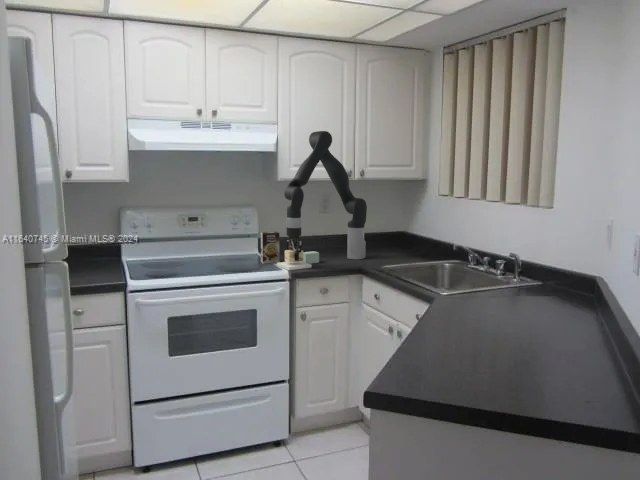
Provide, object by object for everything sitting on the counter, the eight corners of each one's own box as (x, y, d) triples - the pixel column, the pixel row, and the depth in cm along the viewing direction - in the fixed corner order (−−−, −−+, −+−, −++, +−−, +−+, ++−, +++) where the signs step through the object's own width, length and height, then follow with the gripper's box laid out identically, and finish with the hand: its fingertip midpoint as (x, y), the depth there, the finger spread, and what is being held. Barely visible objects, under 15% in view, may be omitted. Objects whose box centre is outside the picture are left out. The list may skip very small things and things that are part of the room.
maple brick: (298, 259, 273) (298, 249, 272) (303, 261, 269) (303, 250, 268) (284, 261, 269) (284, 250, 268) (289, 262, 264) (289, 251, 264)
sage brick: (314, 261, 284) (314, 251, 283) (319, 262, 280) (319, 252, 279) (301, 262, 280) (301, 252, 279) (305, 264, 276) (305, 253, 275)
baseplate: (298, 263, 278) (298, 260, 278) (311, 267, 267) (311, 264, 267) (276, 265, 271) (276, 262, 271) (288, 270, 260) (288, 267, 260)
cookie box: (262, 264, 275) (262, 233, 273) (260, 261, 282) (260, 231, 279) (279, 263, 278) (279, 232, 275) (277, 260, 284) (277, 231, 282)
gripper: (307, 227, 262) (307, 261, 265) (293, 224, 274) (293, 256, 277) (294, 228, 258) (294, 262, 261) (280, 225, 270) (280, 258, 273)
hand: (294, 259), depth 269 cm, fingers closed on maple brick, 4 cm apart
